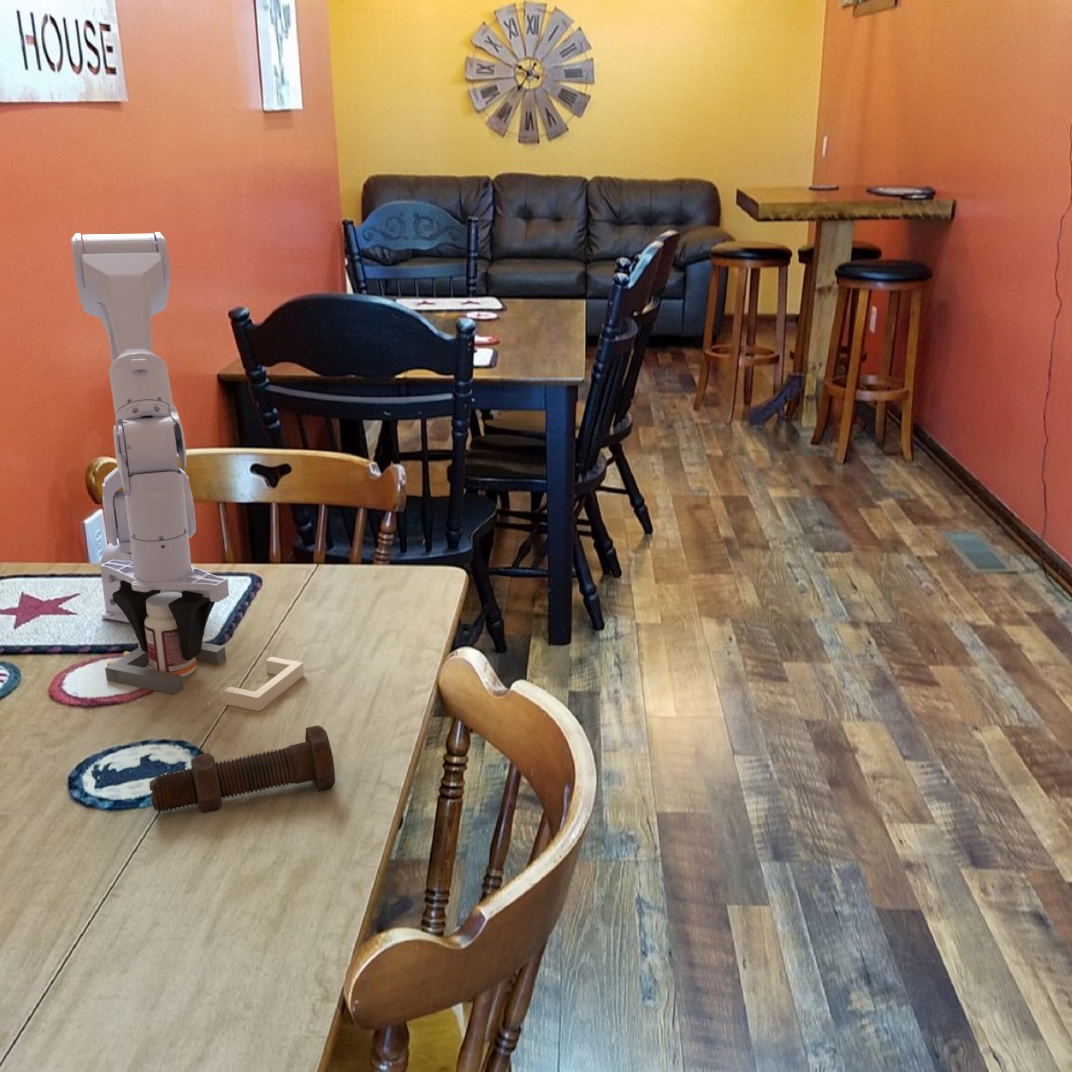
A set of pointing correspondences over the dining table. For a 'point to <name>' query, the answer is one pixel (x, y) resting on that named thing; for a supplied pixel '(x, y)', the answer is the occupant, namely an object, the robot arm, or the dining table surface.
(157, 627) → the pill bottle
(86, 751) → the dining table surface
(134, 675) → the gray u-shaped bracket
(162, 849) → the dining table surface
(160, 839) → the dining table surface
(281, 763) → the bolt
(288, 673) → the bracket
